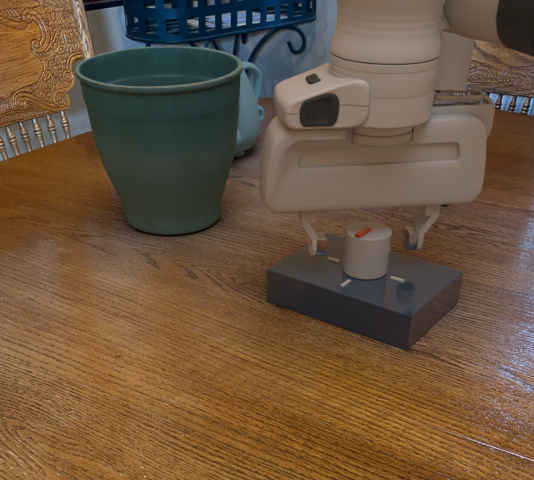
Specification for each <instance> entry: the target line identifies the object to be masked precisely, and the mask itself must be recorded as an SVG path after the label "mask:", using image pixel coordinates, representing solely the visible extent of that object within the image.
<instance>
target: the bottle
mask: <svg viewBox="0 0 534 480" xmlns="http://www.w3.org/2000/svg"><path fill="white" fill-rule="evenodd" d="M440 41H441V53H440V60H439V66H438V73H437V80H436V86H435V90H457V91H466V90H467V85H468V81H469V80H468V79H469V75H470V68H471V63H472V58H473V53H474V47H475V41H476V40H475V39H470V38H465V37H461V36H459V35H457V34H453V33H448V32H443V31H441V32H440Z"/></svg>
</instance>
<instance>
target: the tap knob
mask: <svg viewBox="0 0 534 480" xmlns="http://www.w3.org/2000/svg"><path fill="white" fill-rule="evenodd" d="M345 227H346V228H345V229H344V230H345V231H344V237H345V242H344V256H343V271H344V272H345V273H346V274H347V275H348V276H351V277H353V278H357V279H364V280H370V279H377V278H380V277H383V276H384V275H385V274H386V273H387V271H388V262H389V254H390V250H391V245H392V236H393V229H392V228H391V227H390V226H389V225H388V224H385V223H382V222H378V221H374V220H361V221H356V222H352V223H350V224H348V225H347V226H345Z"/></svg>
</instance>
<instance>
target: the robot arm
mask: <svg viewBox="0 0 534 480" xmlns="http://www.w3.org/2000/svg"><path fill="white" fill-rule="evenodd" d="M336 10H337V11H336V12H337V13H336V23H335V29H334V33H333V35H332V38H331V42H330V48H329V49H330V50H329V61H328V62H326V63H324V64H322V65H319V66H317V67H314V68H312V69H310V70H307V71H305V72H302V73H299V74H297V75H294V76H291V77H289V78H286V79H284V80H281V81H280V82H278V83H277V84H276V85H275V87H274V90H273V102H274V103H273V104H274V108H275V110H276V113H277V115H275V116H274V117H273V118H272V120H271V121H270V122H269V124H268V125H267V128H266V129H265V133H264V138H263V142H262V143H263V144H262V150H261V158H260V168H259V193H260V194H259V195H260V199H261V201H262V203H263V205H264V206H265V207H266V208H267V210H268V211H269V212H270V213H271V214H273V215H274V214H275V215H280V214H281V215H282V214H294V213H295V214H296V213H297V216H298V219H299V222H300V224H301V225H302V227H303V229H304V231H305V233H306V235H307V244H308V252H309V254H310V256H324V255H326V249H325V248H326V246H327V238H326V236H325V234H324V233H325V232H324V231H315V229H314V227H313V225H312V223H316V222H317V218H318V217H317V216H318V212H331V211H332V212H333V211H334V212H335V211H353V210H368V209H369V210H371V209H390V208H406V207H418V209H420V210H421V212H420V213H419V215H418V216H417V218H416V220H415V221H414V222H413V224H412V225H410V226H404V228H403V233H402V234H403V235H404V236H403V237H402V246H403V248H404V249H405V251H420V250H422V248H423V245H424V239H425V234H427V233H428V231H429V229H430V228H431V227H432V225H433V224H434V223H435V222H436V221H437V219H438V218H439V216H440V212H441V207H442V206H441V205H446V204H449V205H462V204H471V203H472V202H474V201H475V200H476V199H477V198H478V196H479V195H480V194H481V193H482V190H483V186H484V179H485V173H486V172H485V171H486V162H487V160H486V159H487V139H488V138H489V136H490V134H491V132H492V129H493V125H494V123H493V122H494V119H495V115H496V108H495V103H494V101H493V100H492V98H491V97H490V96H488V95H487V94H485V93H484V92H483V90H482V89H479V88H466V90H465V91H457V90H435V86H436V80H437V73H438V66H439V60H440V53H441V41H440V35H441V31H443V32H448V33H453V34H457V35H459V36H461V37H465V38H470V39H475V41H481V42H484V43H491V44H494V45H500V46H504V47H506V48H507V49H510V50H512V51H515V52H518V53H521V54H524V55H527V56H529V57H533V58H534V0H336Z"/></svg>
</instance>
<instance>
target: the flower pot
mask: <svg viewBox="0 0 534 480" xmlns="http://www.w3.org/2000/svg"><path fill="white" fill-rule="evenodd" d="M206 48H207V47H197V46H180V45H159V46H157V45H156V46H140V47H131V48H130V47H129V48H124V49H117V50H112V51H107V52H103V53H99V54H96V55H91V56H89V57H88V58H85V59H84V60H82V61H80V62H79V63H77V65H76V67H75V74H76V78H77V79H78V81H79V85H80V89H81V94H82V97H83V101H84V104H85V108H86V111H87V116H88V121H89V125H90V129H91V132H92V136H93V140H94V144H95V147H96V150H97V154H98V157H99V159H100V161H101V164H102V166H103V168H104V170H105V172H106V174H107V176H108V179H109V180H110V182H111V184H112V187H113V189H114V190H115V193H116V194H117V196H118V199H119V201H120V203H121V206H122V208H123V209H122V210H123V212H124V213H123V216H124V219H125V221H126V222H127V223H128V225H130V226H131V227H133V228H134V229H136V230H138V231H141V232H144V233H148V234H154V235H166V236H167V235H171V236H172V235H174V236H175V235H184V234H192V233H195V232H199V231H201V230H204V229H207V228H208V227H211V226H212V225H214V224H215V223H216V222H218V221H219V219H220V218H221V216H222V213H223V211H222V210H223V209H222V202H223V197H224V195H225V194H224V193H225V189H226V186H227V182H228V179H229V175H230V172H231V169H232V166H233V161H234V158H235V157H234V153H235V147H236V140H237V128H238V107H239V96H240V78H241V73H242V70H243V64H242V62H243V61H242V60H241V58H239V57H237V55H234V54H231V53H229V52H226V51H224V50H219V49H213V48H210V49H206Z"/></svg>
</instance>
